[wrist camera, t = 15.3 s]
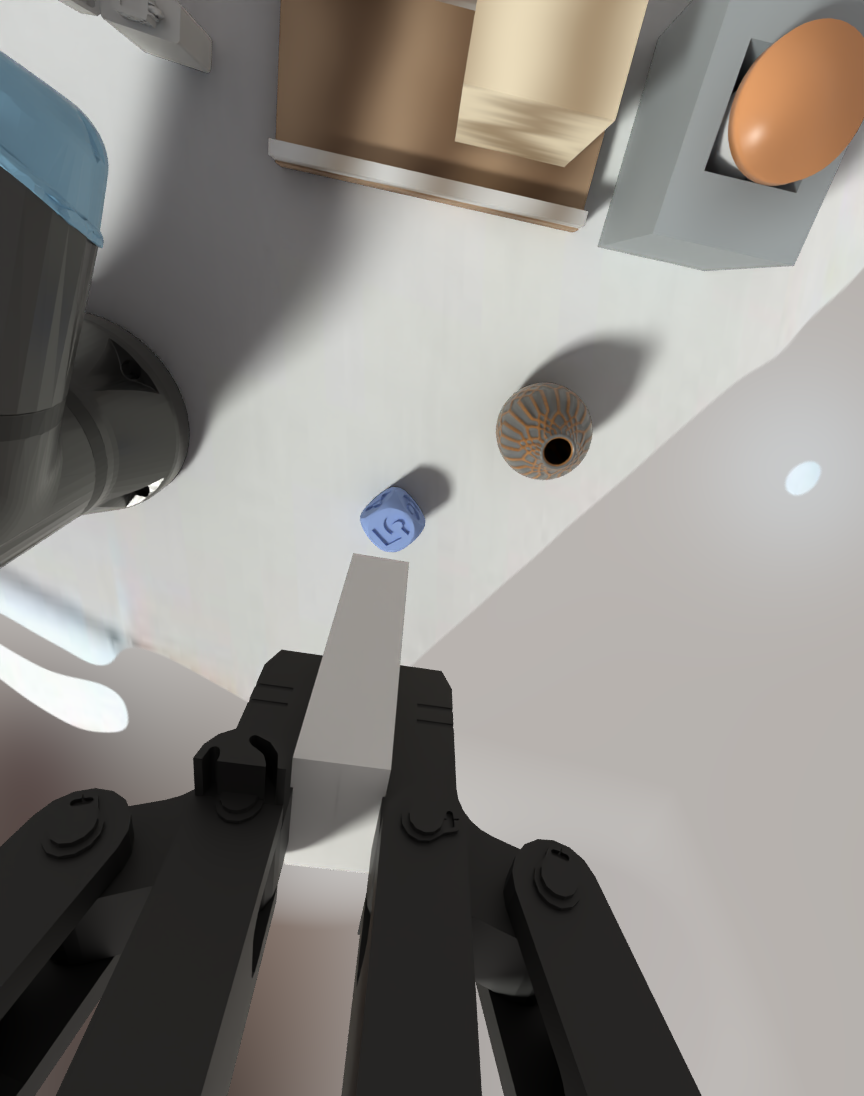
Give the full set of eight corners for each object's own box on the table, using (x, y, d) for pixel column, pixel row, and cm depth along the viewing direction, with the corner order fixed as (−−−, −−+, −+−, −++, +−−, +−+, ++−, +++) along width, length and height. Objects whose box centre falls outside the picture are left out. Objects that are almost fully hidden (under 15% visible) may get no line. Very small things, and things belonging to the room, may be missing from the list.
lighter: (212, 37, 30) (145, -39, 23) (210, 74, 31) (144, 11, 24) (89, -5, 30) (-20, -97, 23) (90, 33, 30) (-15, -44, 23)
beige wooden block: (454, 141, 31) (463, 82, 22) (468, 56, 29) (484, -45, 20) (564, 167, 32) (615, 120, 23) (584, 85, 30) (648, -1, 21)
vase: (525, 358, 39) (548, 376, 31) (595, 406, 40) (633, 435, 33) (475, 434, 42) (484, 468, 34) (542, 476, 43) (566, 518, 35)
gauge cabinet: (597, 246, 35) (652, 233, 26) (662, 24, 30) (758, -85, 21) (705, 270, 36) (793, 265, 27) (786, 57, 31) (929, -36, 22)
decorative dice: (362, 506, 45) (356, 526, 41) (397, 480, 43) (394, 497, 40) (391, 538, 46) (388, 559, 42) (426, 513, 45) (425, 533, 41)
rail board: (281, 166, 33) (267, 156, 31) (290, -47, 29) (275, -81, 26) (572, 232, 35) (583, 227, 32) (623, 40, 30) (642, 17, 28)
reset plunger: (651, 195, 30) (717, 167, 23) (690, 74, 28) (777, 2, 21) (738, 215, 31) (829, 194, 24) (783, 98, 28) (901, 36, 21)
